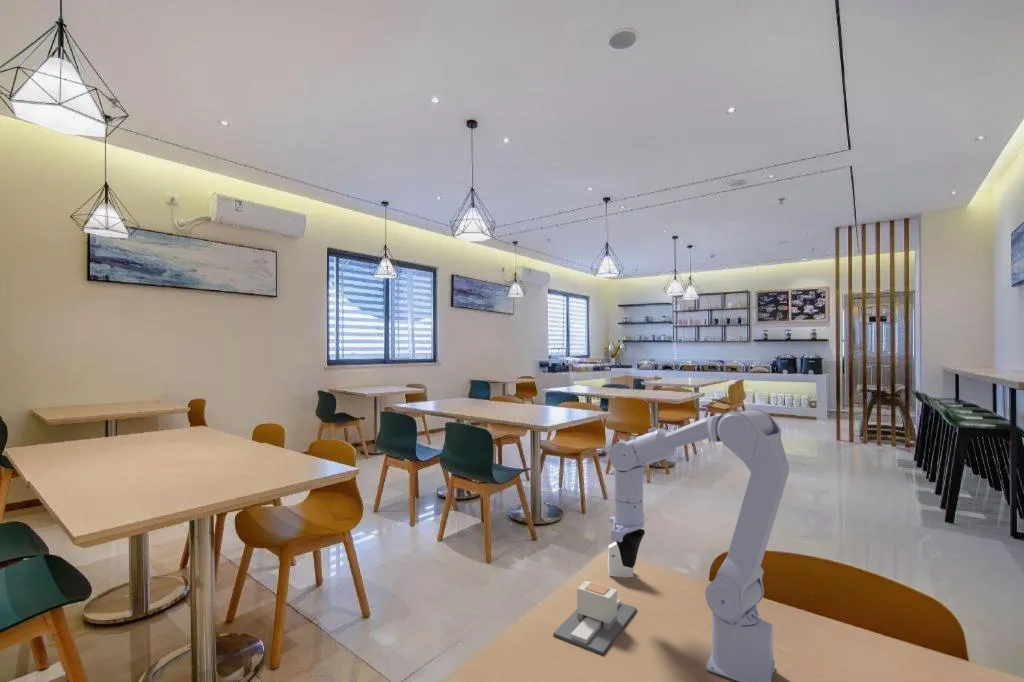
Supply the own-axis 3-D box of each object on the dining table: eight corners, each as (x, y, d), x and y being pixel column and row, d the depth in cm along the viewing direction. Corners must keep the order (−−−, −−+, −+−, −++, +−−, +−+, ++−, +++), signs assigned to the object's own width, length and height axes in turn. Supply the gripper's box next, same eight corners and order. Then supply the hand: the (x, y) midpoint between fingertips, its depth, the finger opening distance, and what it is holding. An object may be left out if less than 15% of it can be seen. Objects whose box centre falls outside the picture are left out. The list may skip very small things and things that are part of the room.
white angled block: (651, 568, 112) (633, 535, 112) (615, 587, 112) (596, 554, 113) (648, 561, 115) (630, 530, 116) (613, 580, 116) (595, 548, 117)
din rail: (636, 610, 98) (636, 603, 98) (602, 655, 83) (602, 647, 83) (592, 596, 103) (592, 590, 103) (553, 635, 88) (553, 628, 88)
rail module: (617, 620, 93) (617, 588, 93) (609, 630, 89) (609, 597, 90) (585, 609, 96) (585, 579, 97) (577, 618, 93) (577, 587, 93)
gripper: (622, 488, 105) (622, 549, 104) (597, 504, 93) (596, 574, 92) (653, 493, 101) (653, 556, 101) (631, 511, 89) (631, 583, 89)
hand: (628, 565), depth 96 cm, fingers closed
